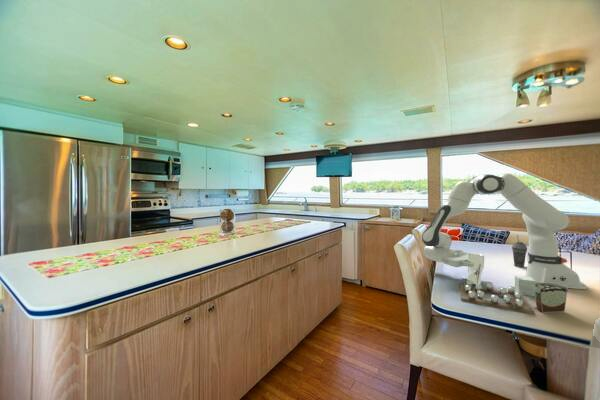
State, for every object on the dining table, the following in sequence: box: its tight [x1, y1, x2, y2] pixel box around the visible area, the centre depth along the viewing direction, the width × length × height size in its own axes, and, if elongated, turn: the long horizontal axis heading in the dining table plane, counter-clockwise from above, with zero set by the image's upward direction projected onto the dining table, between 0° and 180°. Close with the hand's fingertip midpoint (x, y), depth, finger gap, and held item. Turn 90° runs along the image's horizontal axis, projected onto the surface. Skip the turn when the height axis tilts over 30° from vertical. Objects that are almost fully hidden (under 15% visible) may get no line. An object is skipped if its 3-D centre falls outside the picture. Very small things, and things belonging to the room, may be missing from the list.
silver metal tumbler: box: [466, 252, 485, 285], centre depth 127 cm, size 7×7×15 cm
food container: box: [533, 282, 569, 314], centre depth 100 cm, size 12×6×10 cm, turn 92°
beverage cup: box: [511, 234, 528, 268], centre depth 154 cm, size 7×7×20 cm
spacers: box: [465, 280, 523, 309], centre depth 110 cm, size 20×17×4 cm
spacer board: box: [459, 284, 534, 315], centre depth 110 cm, size 24×18×1 cm
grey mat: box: [461, 277, 496, 290], centre depth 127 cm, size 13×12×1 cm
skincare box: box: [514, 275, 537, 297], centre depth 116 cm, size 6×6×7 cm
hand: (478, 264), depth 126 cm, fingers open, 8 cm apart
